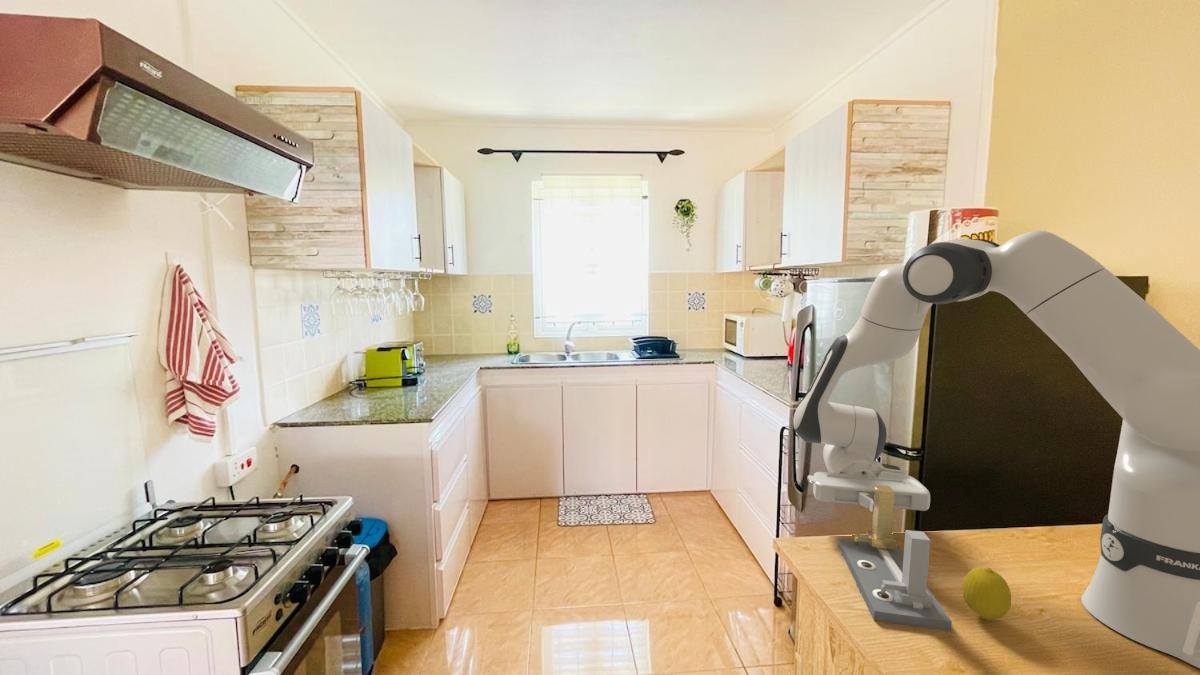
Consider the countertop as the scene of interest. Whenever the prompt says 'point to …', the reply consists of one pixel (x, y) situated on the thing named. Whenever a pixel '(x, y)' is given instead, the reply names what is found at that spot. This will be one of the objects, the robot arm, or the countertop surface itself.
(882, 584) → the board
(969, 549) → the countertop surface
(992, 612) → the lemon
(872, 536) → the brass leg
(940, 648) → the countertop surface
